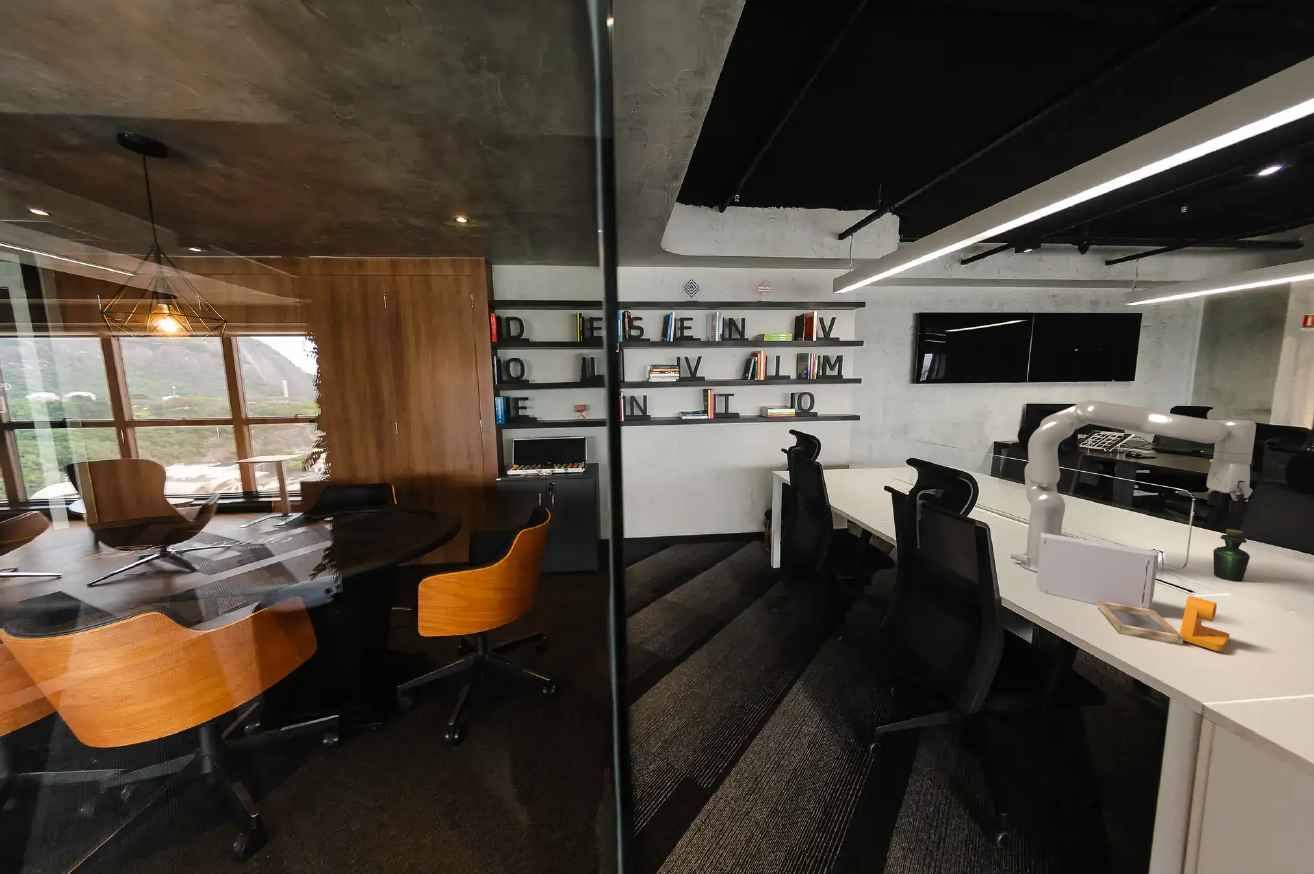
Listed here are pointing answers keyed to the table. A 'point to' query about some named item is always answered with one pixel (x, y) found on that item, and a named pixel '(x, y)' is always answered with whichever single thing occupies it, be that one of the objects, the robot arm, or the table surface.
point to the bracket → (1195, 630)
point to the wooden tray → (1139, 623)
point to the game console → (1096, 571)
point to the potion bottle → (1231, 557)
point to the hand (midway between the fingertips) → (1225, 508)
